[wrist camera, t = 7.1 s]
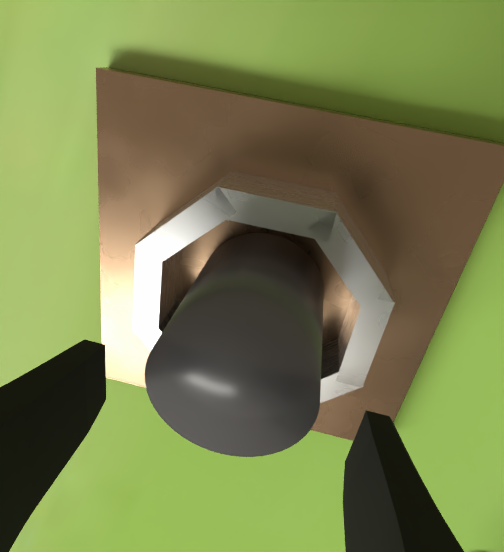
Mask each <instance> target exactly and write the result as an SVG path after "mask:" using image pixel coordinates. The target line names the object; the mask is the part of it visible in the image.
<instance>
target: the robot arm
mask: <svg viewBox="0 0 504 552" xmlns="http://www.w3.org/2000/svg"><path fill="white" fill-rule="evenodd" d="M105 400H106V362H105V345H104V344H100V343H96V342H92V341H88V340H83V341H81V342H79V343H78V344H76V345H74V346H72V347H71V348H69V349H67V350H66V351H64V352H62V353H60V354H59V355H57V356H55V357H54V358H52V359H50V360H48V361H47V362H45V363H43V364H41V365H40V366H38V367H36V368H35V369H33V370H31V371H29V372H27V373H26V374H24V375H22V376H20V377H19V378H17V379H15V380H13V381H11V382H10V383H8V384H6V385H4V386H2V387H0V552H9V550H10V549H11V547H12V545H13V543H14V542H15V540H16V538H17V537H18V535H19V533H20V531H21V530H22V528H23V526H24V525H25V523H26V522H27V520H28V519H29V517H30V515H31V514H32V512H33V511H34V509H35V508H36V506H37V505H38V504H39V502H40V501H41V499H42V498H43V496H44V495H45V494H46V492H47V491H48V489H49V488H50V486H51V485H52V484H53V482H54V481H55V479H56V478H57V477H58V475H59V474H60V472H61V471H62V469H63V468H64V467H65V465H66V464H67V462H68V461H69V460H70V458H71V457H72V455H73V454H74V452H75V451H76V449H77V448H78V447H79V445H80V444H81V442H82V441H83V439H84V438H85V436H86V435H87V433H88V432H89V430H90V428H91V426H92V425H93V423H94V421H95V419H96V417H97V416H98V414H99V412H100V410H101V408H102V406H103V404H104V402H105ZM343 511H344V529H345V546H346V552H464V551H463V549H462V548H461V546H460V544H459V543H458V541H457V540H456V538H455V536H454V535H453V533H452V532H451V530H450V528H449V527H448V525H447V523H446V522H445V520H444V518H443V517H442V515H441V513H440V512H439V510H438V508H437V506H436V505H435V503H434V501H433V499H432V497H431V496H430V494H429V492H428V490H427V488H426V486H425V485H424V483H423V481H422V479H421V477H420V475H419V474H418V472H417V470H416V468H415V466H414V464H413V462H412V460H411V458H410V456H409V454H408V452H407V450H406V448H405V446H404V444H403V442H402V440H401V438H400V436H399V434H398V432H397V430H396V427H395V425H394V423H393V421H392V419H391V418H390V416H387V415H383V414H379V413H375V412H371V411H367V410H366V411H365V414H364V416H363V419H362V421H361V424H360V426H359V429H358V431H357V434H356V436H355V439H354V441H353V444H352V446H351V449H350V451H349V454H348V456H347V458H346V461H345V472H344V490H343Z"/></svg>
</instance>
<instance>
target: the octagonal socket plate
mask: <svg viewBox="0 0 504 552" xmlns="http://www.w3.org/2000/svg"><path fill="white" fill-rule="evenodd" d="M96 91H97V138H98V186H99V234H100V282H101V329H102V344H104V345H105V362H106V378H110V379H114V380H118V381H121V382H125V383H129V384H133V385H137V386H141V387H145V388H146V385H145V365H146V362H147V358H148V356H149V354H150V352H151V350H152V348H153V346H154V345H155V343H156V342H157V340H158V338H159V337H160V335H161V334H162V332H163V330H164V329H165V327H166V326H167V324H168V322H169V321H170V319H171V318H172V316H173V315H174V313H175V311H176V310H177V308H178V307H179V305H180V303H181V302H182V300H183V299H184V297H185V295H186V294H187V292H188V291H189V289H190V288H191V286H192V284H193V283H194V281H195V280H196V278H197V276H198V275H199V273H200V272H201V270H202V268H203V267H204V265H205V264H206V262H207V261H208V259H209V258H210V256H211V255H212V253H213V252H214V251H215V250H216V249H217V248H218V247H219V246H221V245H222V244H223V243H225V242H226V241H228V240H230V239H232V238H234V237H237V236H240V235H244V234H251V233H266V234H272V235H276V236H280V237H282V238H285V239H288V240H289V241H291V242H293V243H295V244H296V245H298V246H299V247H301V248H302V249H303V250H304V251H305V252H306V253H307V254H308V255H309V256H310V257H311V258H312V259H313V261H314V262H315V264H316V265H317V267H318V269H319V271H320V274H321V277H322V280H323V286H324V304H323V333H322V361H321V390H320V408H319V413H318V416H317V418H316V421H315V423H314V425H313V426H312V428H311V430H313V431H317V432H321V433H325V434H329V435H333V436H337V437H341V438H345V439H349V440H353V441H354V439H355V436H356V434H357V431H358V429H359V426H360V424H361V421H362V419H363V416H364V414H365V411H366V410H367V411H371V412H375V413H379V414H383V415H387V416H390V418H391V419H392V421H393V422H394V420H395V417H396V415H397V413H398V411H399V409H400V407H401V404H402V402H403V400H404V398H405V396H406V393H407V391H408V389H409V387H410V385H411V383H412V380H413V378H414V376H415V374H416V372H417V369H418V367H419V365H420V363H421V361H422V359H423V356H424V354H425V352H426V350H427V348H428V345H429V343H430V341H431V339H432V337H433V335H434V332H435V330H436V328H437V326H438V324H439V321H440V319H441V317H442V315H443V313H444V311H445V308H446V306H447V304H448V302H449V300H450V297H451V295H452V293H453V291H454V289H455V287H456V284H457V282H458V280H459V278H460V276H461V274H462V271H463V269H464V267H465V265H466V263H467V260H468V258H469V256H470V254H471V252H472V250H473V247H474V245H475V243H476V241H477V239H478V236H479V234H480V232H481V230H482V228H483V226H484V223H485V221H486V219H487V217H488V215H489V212H490V210H491V208H492V206H493V204H494V202H495V199H496V197H497V195H498V193H499V191H500V188H501V186H502V184H503V182H504V143H500V142H495V141H490V140H485V139H480V138H474V137H469V136H464V135H459V134H453V133H448V132H443V131H438V130H432V129H427V128H422V127H417V126H411V125H406V124H401V123H396V122H390V121H385V120H380V119H375V118H370V117H364V116H359V115H354V114H349V113H343V112H338V111H333V110H328V109H322V108H317V107H312V106H307V105H301V104H296V103H291V102H286V101H280V100H275V99H270V98H265V97H259V96H254V95H249V94H244V93H239V92H233V91H228V90H223V89H218V88H212V87H207V86H202V85H197V84H191V83H186V82H181V81H176V80H170V79H165V78H160V77H155V76H149V75H144V74H139V73H134V72H129V71H123V70H118V69H113V68H108V67H106V68H96Z"/></svg>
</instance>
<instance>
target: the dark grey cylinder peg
mask: <svg viewBox="0 0 504 552" xmlns="http://www.w3.org/2000/svg"><path fill="white" fill-rule="evenodd" d="M323 304H324V286H323V280H322V277H321V274H320V271H319V269H318V267H317V265H316V264H315V262H314V261H313V259H312V258H311V257H310V256H309V255H308V254H307V253H306V252H305V251H304V250H303V249H302V248H301V247H299V246H298V245H296V244H295V243H293V242H291V241H289V240H288V239H285V238H282V237H280V236H276V235H272V234H266V233H251V234H244V235H240V236H237V237H234V238H232V239H230V240H228V241H226V242H225V243H223V244H222V245H221V246H219V247H218V248H217V249H216V250H215V251H214V252H213V253H212V255H211V256H210V258H209V259H208V261H207V262H206V264H205V265H204V267H203V268H202V270H201V272H200V273H199V275H198V276H197V278H196V280H195V281H194V283H193V284H192V286H191V288H190V289H189V291H188V292H187V294H186V295H185V297H184V299H183V300H182V302H181V303H180V305H179V307H178V308H177V310H176V311H175V313H174V315H173V316H172V318H171V319H170V321H169V322H168V324H167V326H166V327H165V329H164V330H163V332H162V334H161V335H160V337H159V338H158V340H157V342H156V343H155V345H154V346H153V348H152V350H151V352H150V354H149V356H148V358H147V362H146V365H145V385H146V389H147V393H148V396H149V398H150V401H151V403H152V404H153V406H154V408H155V410H156V411H157V412H158V414H159V415H160V417H161V418H162V419H163V420H164V421H165V422H166V423H167V424H168V425H169V426H170V427H171V428H172V429H173V430H174V431H176V432H177V433H178V434H180V435H181V436H182V437H184V438H185V439H187V440H189V441H190V442H192V443H194V444H196V445H198V446H200V447H203V448H205V449H208V450H210V451H214V452H217V453H221V454H226V455H231V456H240V457H255V456H264V455H269V454H273V453H276V452H280V451H282V450H285V449H287V448H289V447H291V446H292V445H294V444H296V443H297V442H299V441H300V440H301V439H302V438H303V437H304V436H305V435H306V434H307V433H308V432H309V431H310V430H311V428H312V426H313V425H314V423H315V421H316V418H317V416H318V413H319V408H320V390H321V361H322V333H323Z"/></svg>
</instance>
